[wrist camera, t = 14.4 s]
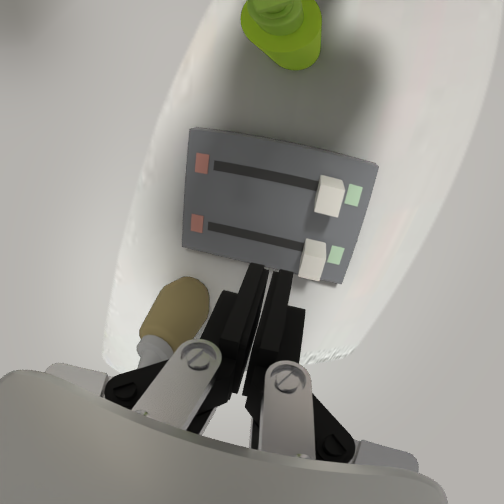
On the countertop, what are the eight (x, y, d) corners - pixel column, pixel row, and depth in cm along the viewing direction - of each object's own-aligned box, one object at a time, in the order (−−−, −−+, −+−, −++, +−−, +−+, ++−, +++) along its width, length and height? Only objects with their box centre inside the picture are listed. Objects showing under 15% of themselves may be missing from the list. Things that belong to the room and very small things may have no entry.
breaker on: (320, 174, 32) (320, 184, 29) (342, 179, 32) (345, 190, 28) (314, 199, 34) (314, 211, 30) (336, 204, 33) (337, 217, 30)
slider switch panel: (196, 127, 35) (189, 129, 33) (375, 163, 32) (378, 167, 30) (187, 240, 43) (181, 246, 41) (340, 276, 40) (341, 284, 38)
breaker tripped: (305, 238, 36) (304, 254, 33) (325, 242, 36) (326, 259, 32) (300, 259, 38) (298, 276, 34) (319, 263, 37) (319, 281, 34)
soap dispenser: (306, 11, 25) (288, -77, 8) (327, 62, 28) (340, 14, 11) (257, 26, 27) (189, -42, 10) (278, 76, 30) (230, 48, 13)
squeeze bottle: (159, 284, 48) (101, 362, 32) (190, 260, 44) (129, 344, 29) (193, 318, 50) (148, 402, 34) (226, 298, 46) (184, 391, 31)
